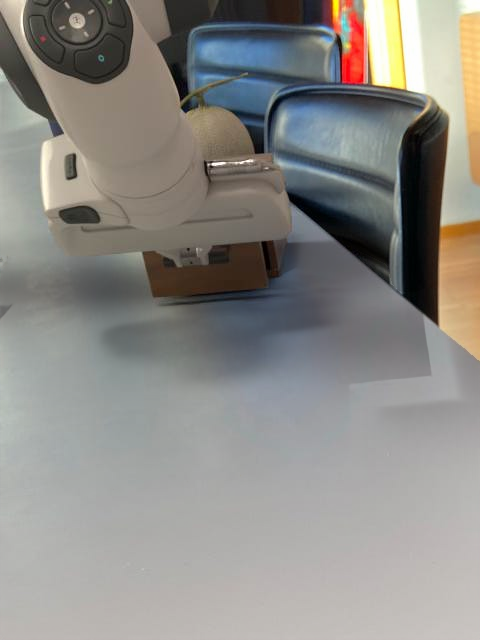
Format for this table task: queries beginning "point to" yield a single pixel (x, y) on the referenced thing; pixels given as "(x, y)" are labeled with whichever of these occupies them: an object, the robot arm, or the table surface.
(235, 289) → the drawer
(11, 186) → the table surface
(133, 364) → the table surface
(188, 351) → the table surface
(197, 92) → the fruit
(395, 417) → the table surface
